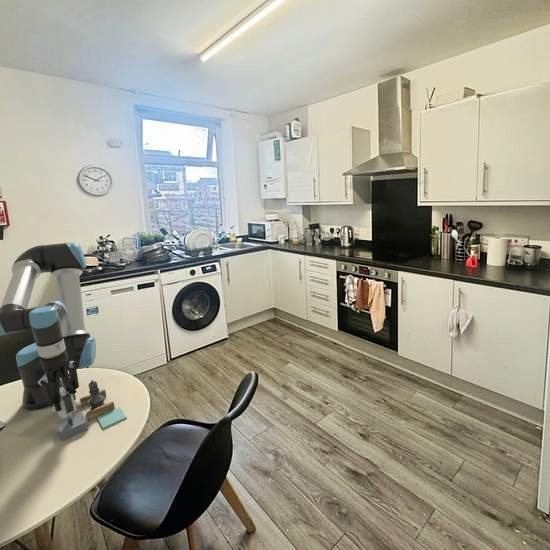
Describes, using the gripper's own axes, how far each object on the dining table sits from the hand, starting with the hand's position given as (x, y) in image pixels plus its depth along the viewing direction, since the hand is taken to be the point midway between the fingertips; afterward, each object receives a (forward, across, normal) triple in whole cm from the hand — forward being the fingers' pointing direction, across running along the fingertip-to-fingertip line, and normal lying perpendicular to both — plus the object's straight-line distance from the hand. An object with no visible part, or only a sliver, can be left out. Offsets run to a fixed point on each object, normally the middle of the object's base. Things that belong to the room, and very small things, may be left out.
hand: (68, 413), depth 118 cm
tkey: (+3, 0, -1) cm, 3 cm away
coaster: (+6, +8, -10) cm, 14 cm away
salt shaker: (+7, +12, 0) cm, 14 cm away
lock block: (+6, 0, -1) cm, 6 cm away
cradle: (+6, +12, 0) cm, 13 cm away
